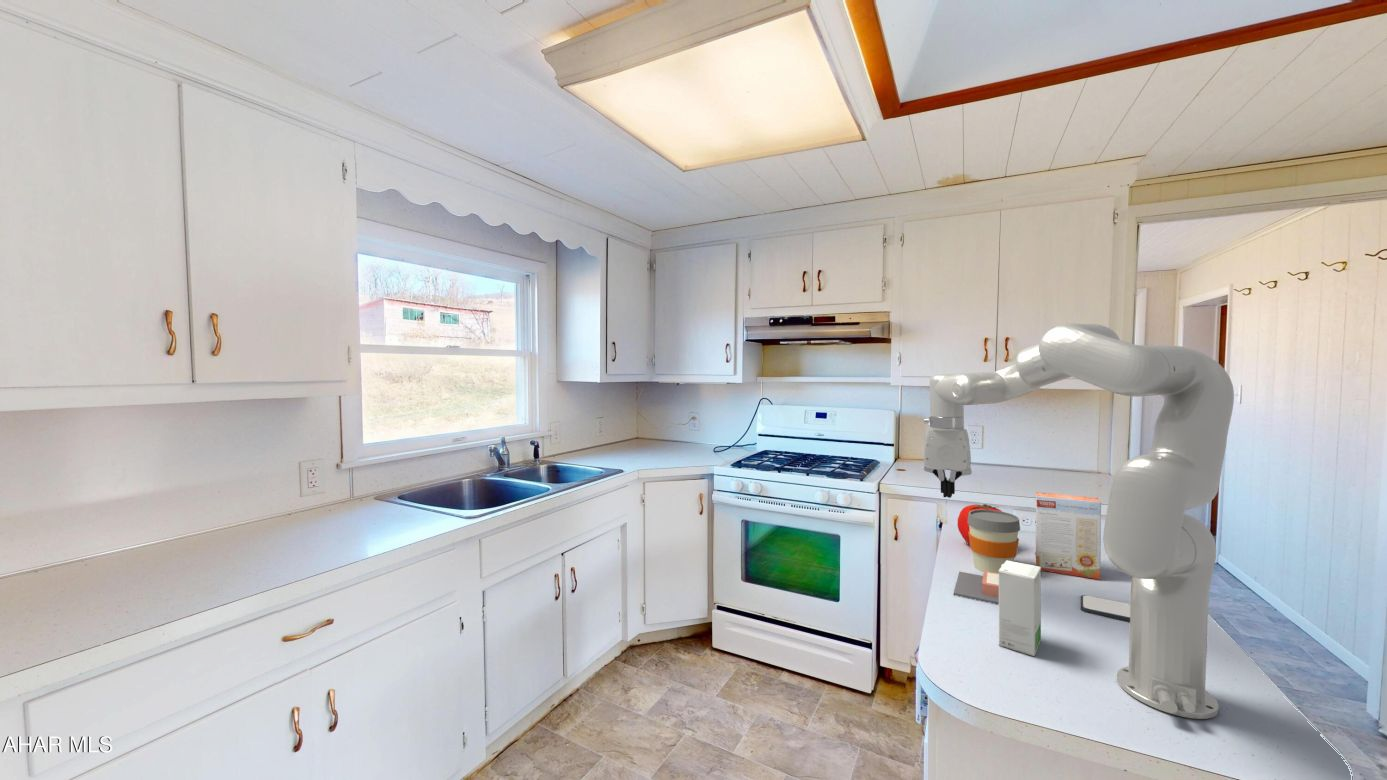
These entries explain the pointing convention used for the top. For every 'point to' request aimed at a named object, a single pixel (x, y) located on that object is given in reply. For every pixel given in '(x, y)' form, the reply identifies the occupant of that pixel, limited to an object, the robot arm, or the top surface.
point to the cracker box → (1068, 534)
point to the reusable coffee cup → (992, 538)
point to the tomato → (963, 518)
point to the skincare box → (1020, 607)
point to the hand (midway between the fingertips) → (947, 496)
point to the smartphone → (1105, 608)
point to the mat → (972, 588)
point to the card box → (990, 583)
